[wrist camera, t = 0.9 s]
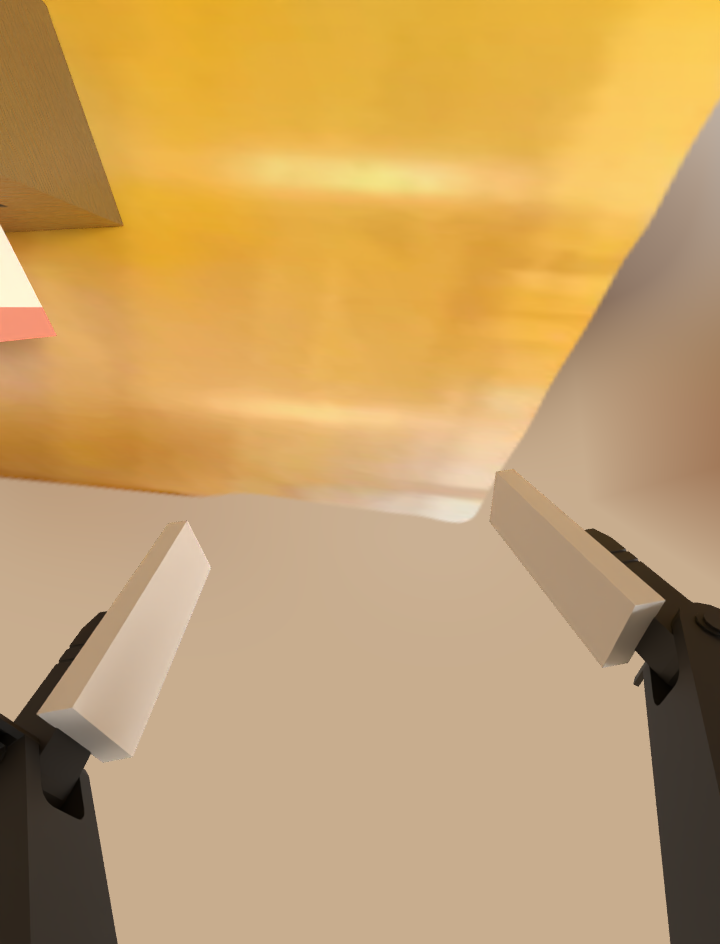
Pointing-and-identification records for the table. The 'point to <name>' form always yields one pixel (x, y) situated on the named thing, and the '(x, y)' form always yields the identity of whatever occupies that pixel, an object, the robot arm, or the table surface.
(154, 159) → the table surface
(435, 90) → the table surface
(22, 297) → the pink-tipped white stick
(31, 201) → the dispenser
